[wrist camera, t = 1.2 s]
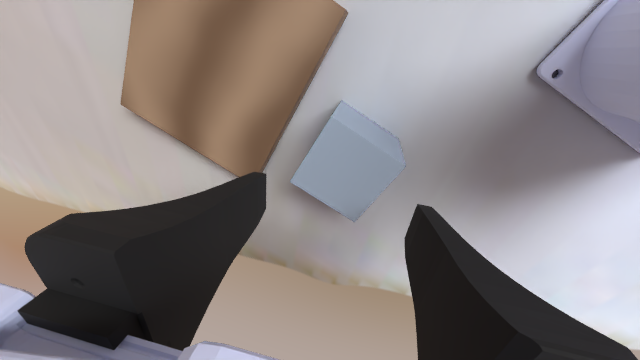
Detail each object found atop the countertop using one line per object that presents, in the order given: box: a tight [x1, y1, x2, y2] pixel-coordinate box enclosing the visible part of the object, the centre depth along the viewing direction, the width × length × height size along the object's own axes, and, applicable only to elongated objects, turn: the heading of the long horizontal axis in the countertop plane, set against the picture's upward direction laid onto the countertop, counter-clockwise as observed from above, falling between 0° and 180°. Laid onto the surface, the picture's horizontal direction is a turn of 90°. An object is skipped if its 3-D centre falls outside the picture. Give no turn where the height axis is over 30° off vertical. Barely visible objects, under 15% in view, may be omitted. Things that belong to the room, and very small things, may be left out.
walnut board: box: [121, 0, 348, 177], centre depth 17 cm, size 12×14×2 cm
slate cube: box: [290, 100, 406, 222], centre depth 17 cm, size 5×5×5 cm
